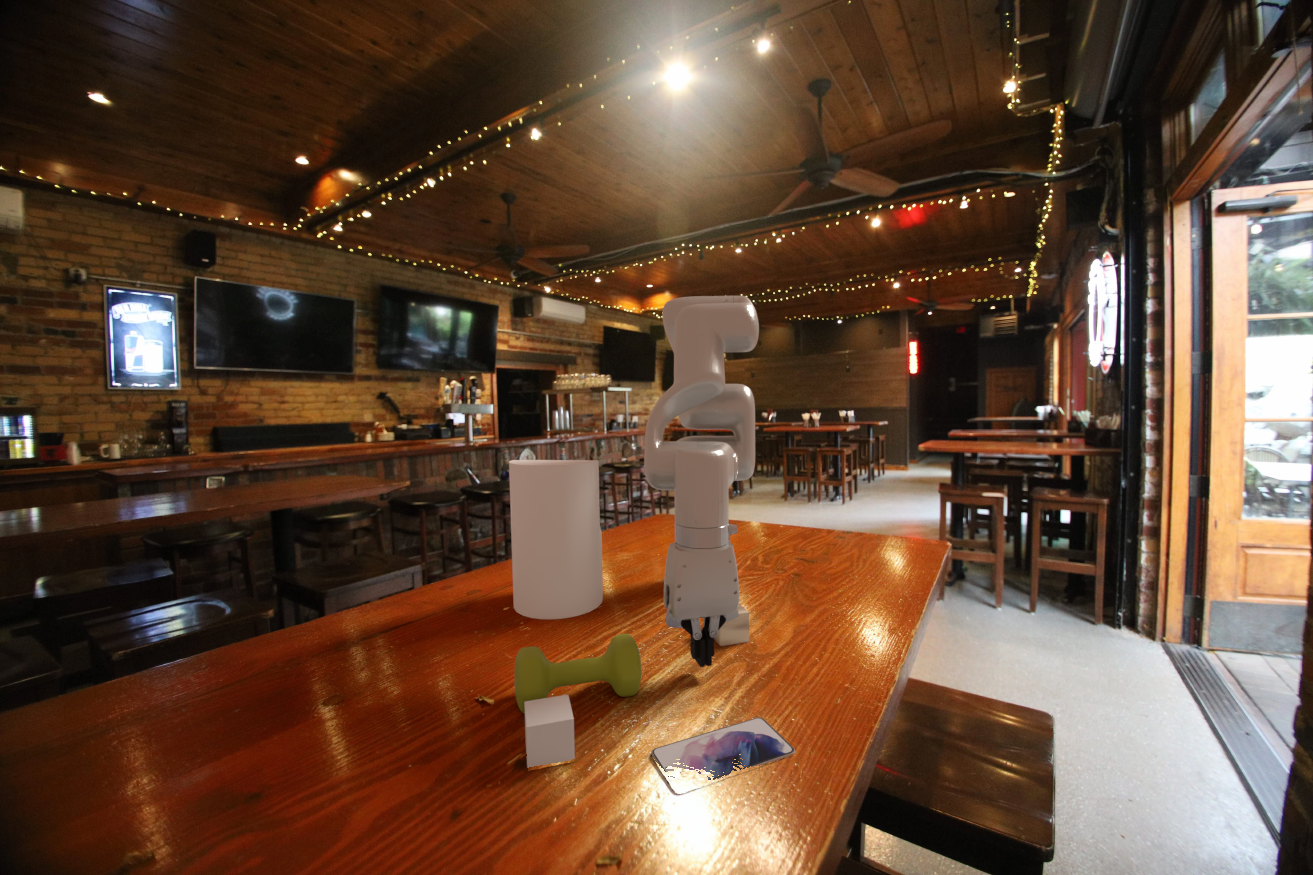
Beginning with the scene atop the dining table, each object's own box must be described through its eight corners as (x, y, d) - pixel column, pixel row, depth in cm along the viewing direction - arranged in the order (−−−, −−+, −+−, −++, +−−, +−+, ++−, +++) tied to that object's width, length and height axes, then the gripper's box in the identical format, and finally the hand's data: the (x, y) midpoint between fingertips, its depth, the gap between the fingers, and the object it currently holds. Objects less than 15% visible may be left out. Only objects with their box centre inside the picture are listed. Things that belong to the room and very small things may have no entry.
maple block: (708, 633, 89) (708, 604, 88) (735, 629, 90) (735, 601, 90) (720, 646, 84) (720, 616, 83) (748, 642, 85) (748, 612, 85)
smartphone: (798, 750, 58) (676, 792, 52) (798, 758, 58) (676, 800, 52) (761, 714, 65) (648, 748, 58) (761, 721, 65) (648, 755, 59)
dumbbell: (633, 673, 76) (632, 625, 75) (646, 704, 68) (645, 650, 68) (515, 691, 72) (513, 640, 71) (515, 725, 64) (513, 668, 64)
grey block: (525, 743, 61) (524, 701, 60) (569, 735, 62) (568, 694, 62) (527, 772, 56) (526, 727, 55) (574, 762, 57) (573, 718, 57)
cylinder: (588, 621, 94) (585, 465, 92) (497, 616, 96) (492, 465, 95) (612, 587, 111) (609, 455, 109) (534, 584, 114) (530, 455, 112)
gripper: (739, 525, 79) (739, 643, 80) (643, 533, 75) (645, 657, 76) (762, 537, 72) (762, 666, 73) (657, 546, 68) (659, 683, 69)
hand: (702, 661), depth 75 cm, fingers closed
